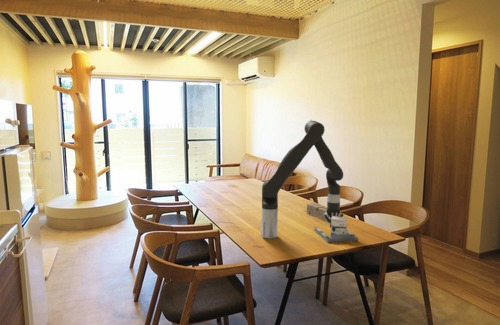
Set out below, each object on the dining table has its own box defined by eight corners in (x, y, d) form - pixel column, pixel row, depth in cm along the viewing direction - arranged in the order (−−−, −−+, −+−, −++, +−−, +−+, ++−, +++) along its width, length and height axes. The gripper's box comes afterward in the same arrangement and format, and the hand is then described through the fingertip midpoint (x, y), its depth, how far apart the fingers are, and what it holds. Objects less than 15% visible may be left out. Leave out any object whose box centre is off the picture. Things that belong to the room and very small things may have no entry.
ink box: (330, 237, 196) (331, 217, 195) (331, 234, 201) (332, 215, 199) (345, 239, 193) (346, 219, 192) (346, 236, 198) (347, 217, 196)
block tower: (305, 214, 248) (330, 224, 222) (305, 203, 247) (330, 211, 221) (314, 213, 251) (339, 222, 225) (314, 202, 250) (340, 210, 224)
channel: (327, 242, 188) (327, 235, 187) (314, 230, 208) (314, 224, 208) (357, 241, 191) (357, 234, 190) (341, 229, 211) (341, 223, 211)
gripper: (325, 202, 197) (324, 231, 200) (346, 202, 199) (345, 230, 202) (320, 199, 205) (320, 227, 207) (341, 199, 207) (340, 226, 209)
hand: (332, 228), depth 204 cm, fingers closed
